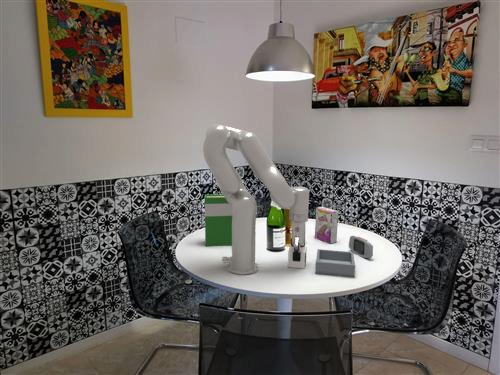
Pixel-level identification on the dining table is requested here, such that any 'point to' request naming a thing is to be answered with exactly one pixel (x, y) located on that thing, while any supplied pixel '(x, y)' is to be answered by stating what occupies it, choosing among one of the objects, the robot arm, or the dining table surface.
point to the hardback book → (218, 221)
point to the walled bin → (335, 263)
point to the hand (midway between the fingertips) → (297, 257)
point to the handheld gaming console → (361, 247)
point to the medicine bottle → (302, 261)
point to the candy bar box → (326, 225)
